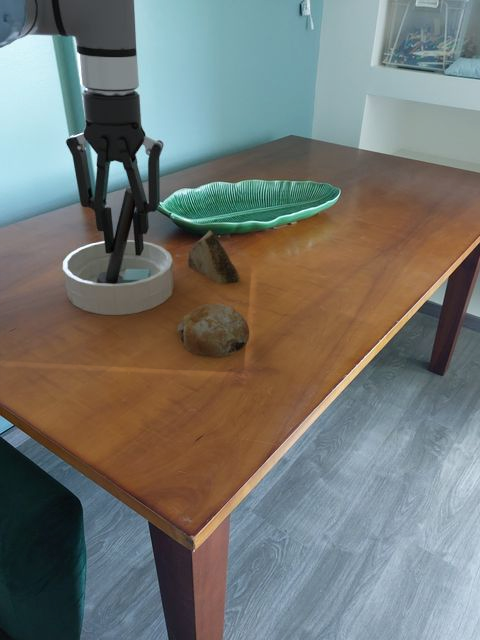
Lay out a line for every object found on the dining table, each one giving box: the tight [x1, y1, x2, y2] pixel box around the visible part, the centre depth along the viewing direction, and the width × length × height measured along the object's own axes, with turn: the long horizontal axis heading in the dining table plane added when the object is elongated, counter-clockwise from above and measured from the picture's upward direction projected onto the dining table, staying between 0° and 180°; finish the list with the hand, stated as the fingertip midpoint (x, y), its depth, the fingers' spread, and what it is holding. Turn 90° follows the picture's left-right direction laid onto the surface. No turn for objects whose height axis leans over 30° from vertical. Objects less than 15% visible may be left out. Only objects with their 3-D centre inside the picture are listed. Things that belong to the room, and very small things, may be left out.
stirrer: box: [96, 187, 136, 284], centre depth 84 cm, size 4×4×17 cm
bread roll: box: [177, 303, 250, 359], centre depth 79 cm, size 10×10×8 cm
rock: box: [187, 230, 241, 285], centre depth 97 cm, size 11×9×10 cm
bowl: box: [62, 239, 175, 316], centre depth 91 cm, size 18×18×6 cm
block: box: [123, 269, 151, 283], centre depth 89 cm, size 4×4×4 cm
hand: (125, 250), depth 85 cm, fingers closed on stirrer, 4 cm apart
